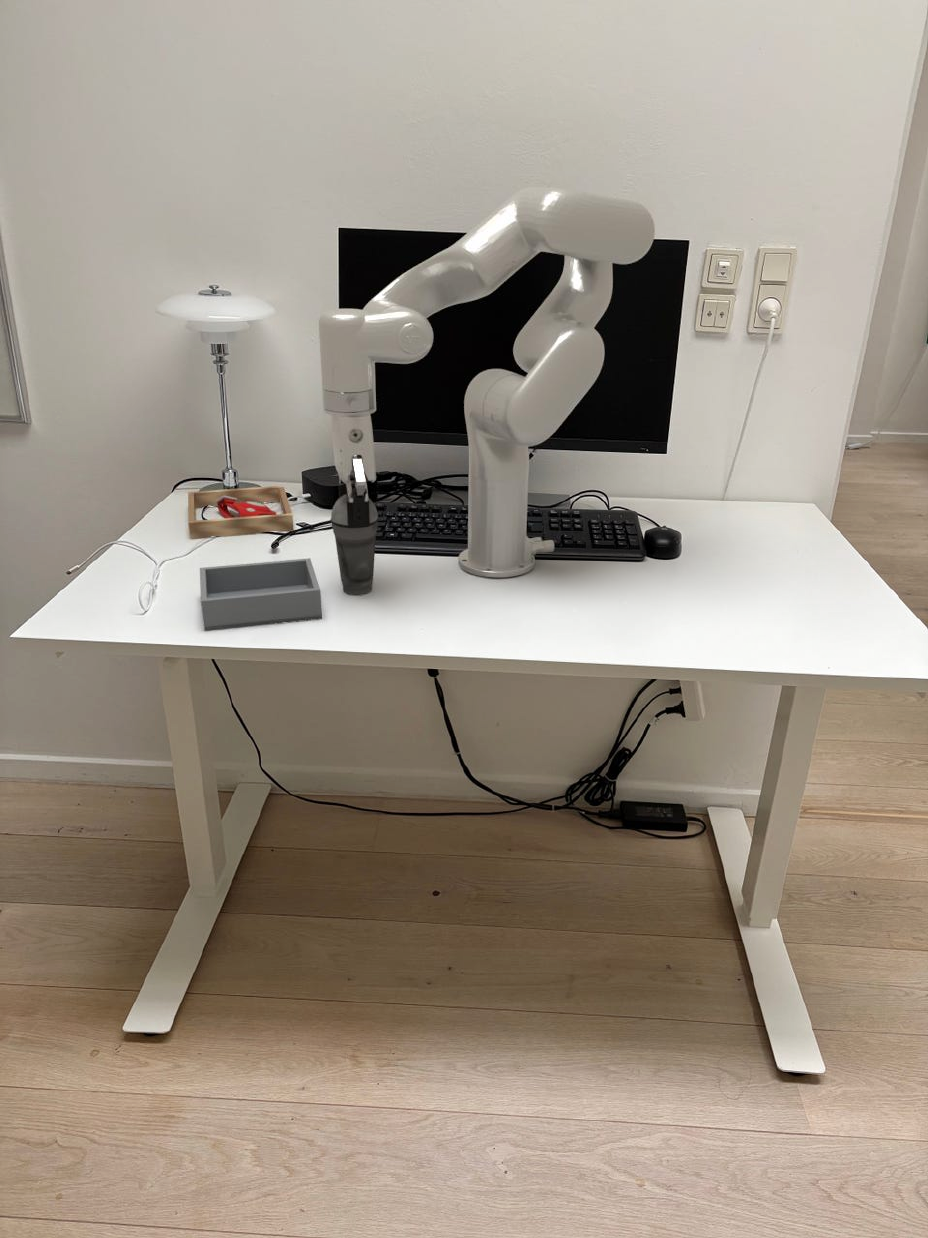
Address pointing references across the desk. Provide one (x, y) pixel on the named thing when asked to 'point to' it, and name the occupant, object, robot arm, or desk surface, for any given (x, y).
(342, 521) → the beverage cup
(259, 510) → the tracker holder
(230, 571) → the charcoal tray
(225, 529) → the oak organiser frame
